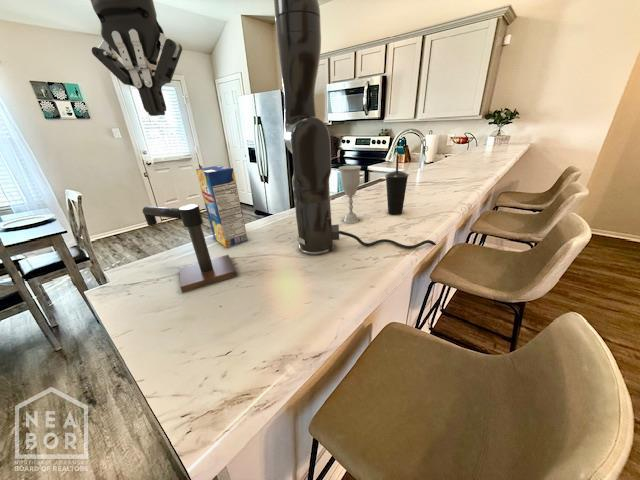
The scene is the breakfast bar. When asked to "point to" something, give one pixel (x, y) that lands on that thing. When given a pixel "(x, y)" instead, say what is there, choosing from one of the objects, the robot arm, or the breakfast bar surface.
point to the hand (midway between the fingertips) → (157, 115)
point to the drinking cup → (396, 190)
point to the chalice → (350, 187)
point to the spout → (175, 214)
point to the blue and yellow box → (222, 204)
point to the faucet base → (204, 265)
